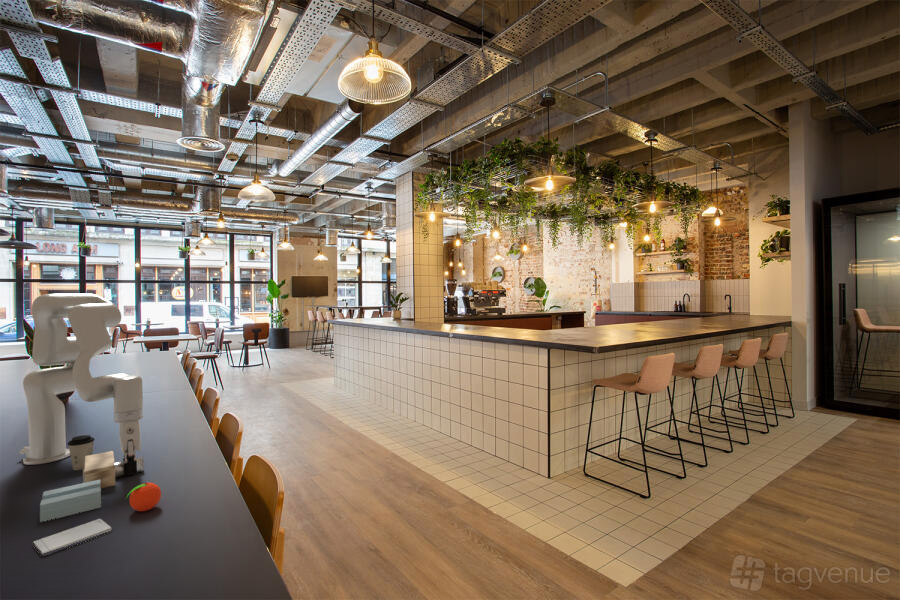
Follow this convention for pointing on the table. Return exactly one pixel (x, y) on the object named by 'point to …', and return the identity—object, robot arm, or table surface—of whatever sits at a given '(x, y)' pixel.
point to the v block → (70, 500)
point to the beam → (100, 468)
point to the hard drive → (72, 536)
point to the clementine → (144, 496)
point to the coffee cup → (80, 450)
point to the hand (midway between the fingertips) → (130, 471)
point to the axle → (120, 468)
